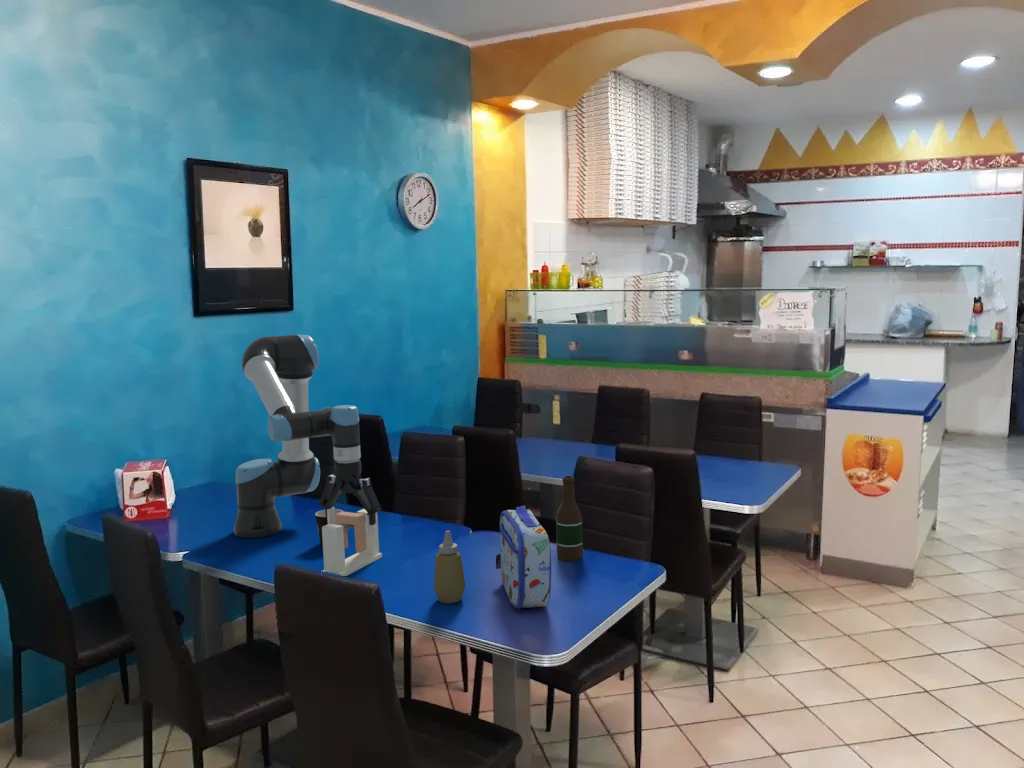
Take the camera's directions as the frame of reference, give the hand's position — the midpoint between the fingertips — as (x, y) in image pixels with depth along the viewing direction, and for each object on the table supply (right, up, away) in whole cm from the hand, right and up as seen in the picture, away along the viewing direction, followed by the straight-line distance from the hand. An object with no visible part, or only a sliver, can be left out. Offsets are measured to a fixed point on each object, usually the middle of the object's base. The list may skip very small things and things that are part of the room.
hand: (351, 533), depth 238 cm
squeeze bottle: (+30, -13, -26) cm, 42 cm away
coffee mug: (-10, -7, +23) cm, 26 cm away
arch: (0, -5, +1) cm, 5 cm away
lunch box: (+49, -12, -24) cm, 56 cm away
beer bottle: (+63, -8, +3) cm, 63 cm away
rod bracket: (0, -10, +1) cm, 10 cm away
